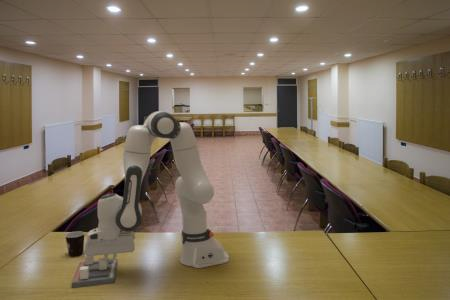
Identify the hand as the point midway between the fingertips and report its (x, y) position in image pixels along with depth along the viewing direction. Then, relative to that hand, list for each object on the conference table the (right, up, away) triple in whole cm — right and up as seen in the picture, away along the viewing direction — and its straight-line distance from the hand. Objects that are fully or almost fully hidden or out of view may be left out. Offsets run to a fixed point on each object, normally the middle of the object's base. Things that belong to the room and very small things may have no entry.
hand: (111, 263), depth 156 cm
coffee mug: (-23, -3, +20) cm, 31 cm away
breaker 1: (-8, -3, -9) cm, 12 cm away
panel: (-6, -5, -1) cm, 8 cm away
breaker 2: (-11, -1, +5) cm, 12 cm away
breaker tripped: (-3, -2, 0) cm, 4 cm away
